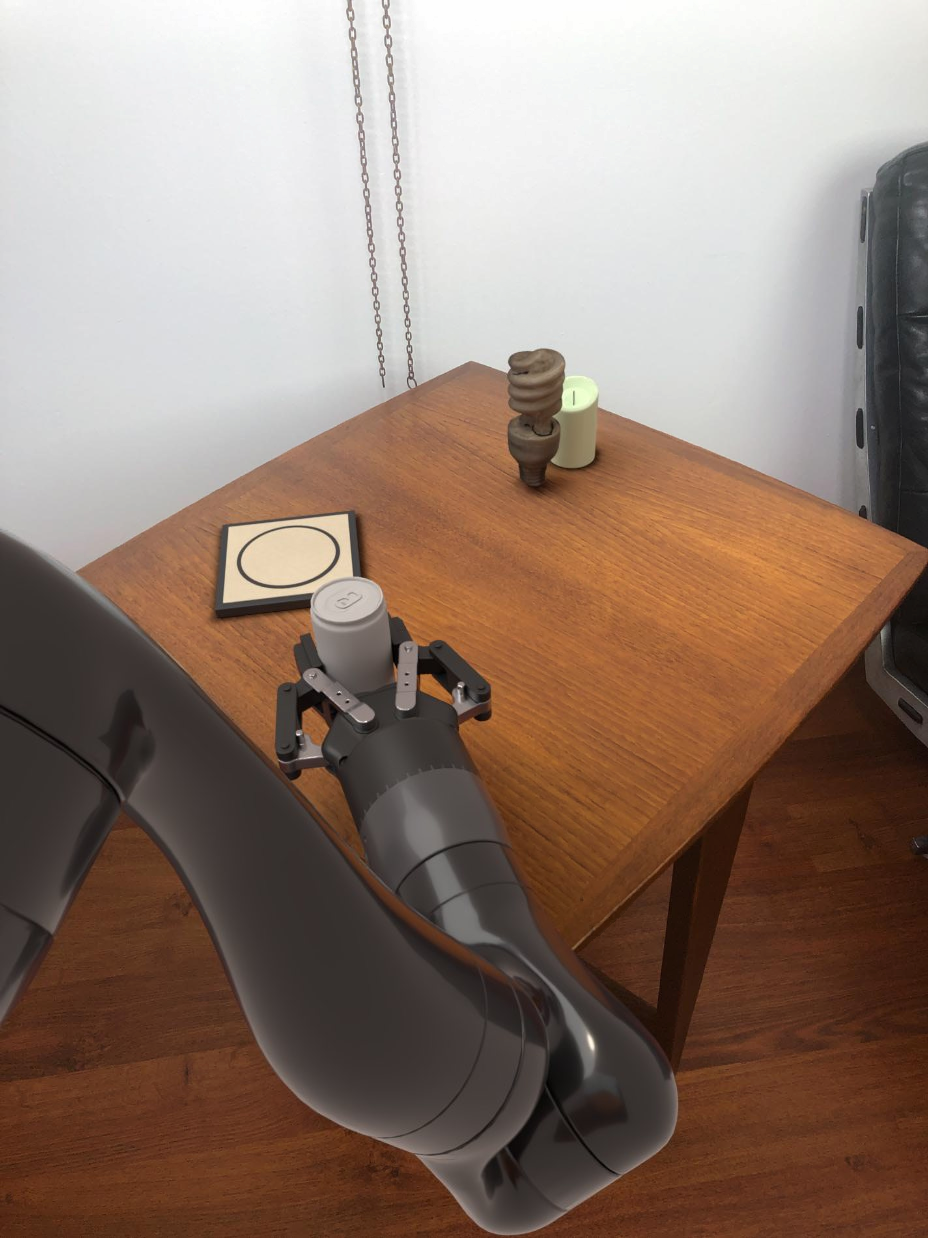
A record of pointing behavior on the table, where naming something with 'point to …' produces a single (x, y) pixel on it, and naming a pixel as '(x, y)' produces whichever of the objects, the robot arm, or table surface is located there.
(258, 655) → the table surface
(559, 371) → the light bulb
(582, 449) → the candle
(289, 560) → the black and cream coaster
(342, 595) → the beverage can
